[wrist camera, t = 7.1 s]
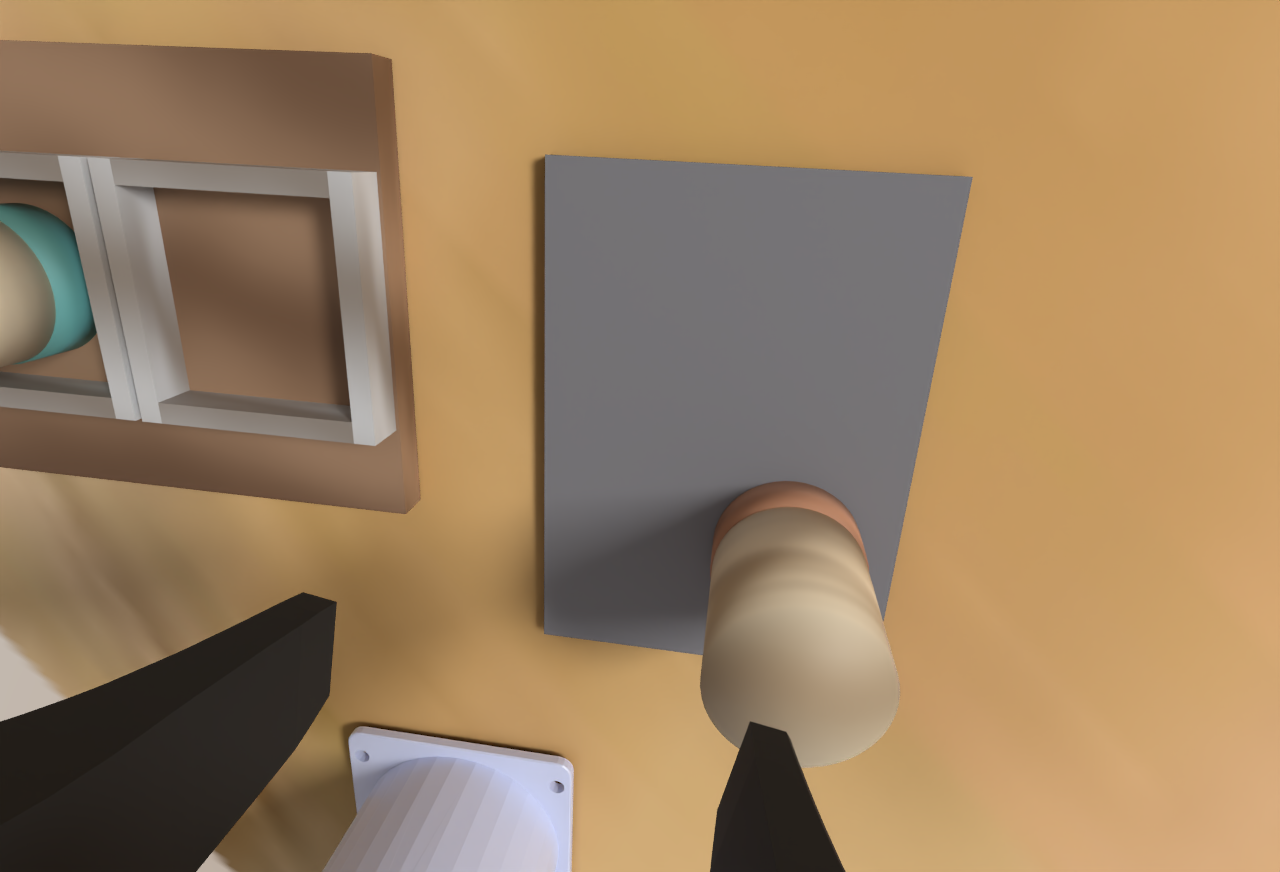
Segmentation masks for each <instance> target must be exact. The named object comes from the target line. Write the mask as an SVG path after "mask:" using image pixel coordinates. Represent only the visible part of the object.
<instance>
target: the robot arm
mask: <svg viewBox="0 0 1280 872" xmlns="http://www.w3.org/2000/svg"><path fill="white" fill-rule="evenodd" d="M336 604H337V602H335V601H331V600H328V599H324V598H321V597H317V596H314V595H310V594H307V593H304V592H303V593H301V594H298V595H296V596H294V597H292V598H290V599H288V600H286V601H283V602H281V603H279V604H277V605H275V606H273V607H271V608H269V609H267V610H265V611H263V612H261V613H259V614H257V615H255V616H253V617H251V618H249V619H247V620H245V621H243V622H241V623H239V624H237V625H235V626H233V627H231V628H229V629H226V630H224V631H222V632H220V633H218V634H216V635H214V636H212V637H210V638H208V639H206V640H203V641H201V642H199V643H197V644H195V645H193V646H191V647H189V648H187V649H185V650H182V651H180V652H178V653H176V654H174V655H171V656H169V657H167V658H164V659H162V660H160V661H157V662H155V663H153V664H150V665H148V666H146V667H144V668H141V669H139V670H137V671H134V672H132V673H130V674H127V675H125V676H123V677H120V678H118V679H116V680H113V681H111V682H109V683H106V684H104V685H101V686H99V687H96V688H94V689H91V690H89V691H86V692H83V693H81V694H78V695H76V696H73V697H70V698H68V699H65V700H62V701H59V702H56V703H54V704H51V705H48V706H45V707H43V708H39V709H37V710H34V711H31V712H28V713H25V714H22V715H20V716H17V717H14V718H10V719H8V720H4V721H1V722H0V872H196V871H197V870H198V869H199V867H200V866H201V865H202V864H203V863H204V861H205V860H206V859H207V858H208V856H209V855H210V854H211V853H212V852H213V850H214V849H215V848H216V847H217V845H218V844H219V843H220V842H221V841H222V839H223V838H224V837H225V836H226V834H227V833H228V832H229V831H230V829H231V828H232V827H233V826H234V825H235V823H236V822H237V821H238V820H239V818H240V817H241V816H242V815H243V814H244V812H245V811H246V810H247V809H248V807H249V806H250V805H251V804H252V803H253V801H254V800H255V799H256V798H257V796H258V795H259V794H260V793H261V792H262V790H263V789H264V788H265V787H266V785H267V784H268V783H269V782H270V780H271V779H272V778H273V777H274V775H275V774H276V773H277V772H278V770H279V769H280V768H281V767H282V765H283V764H284V763H285V762H286V760H287V759H288V758H289V757H290V755H291V754H292V753H293V752H294V750H295V749H296V747H297V746H298V744H299V743H300V741H301V740H302V738H303V737H304V735H305V734H306V732H307V730H308V729H309V727H310V726H311V724H312V723H313V721H314V719H315V718H316V716H317V715H318V713H319V711H320V710H321V708H322V706H323V705H324V703H325V702H326V700H327V698H328V697H329V694H330V681H331V668H332V655H333V642H334V629H335V617H336ZM348 744H349V752H350V760H351V768H352V776H353V785H354V793H355V801H356V809H357V815H356V817H355V818H354V820H353V822H352V823H351V825H350V826H349V828H348V830H347V831H346V833H345V835H344V836H343V838H342V840H341V841H340V843H339V844H338V846H337V848H336V849H335V851H334V853H333V854H332V856H331V858H330V859H329V861H328V862H327V864H326V866H325V867H324V869H323V871H322V872H572V827H573V779H574V769H573V765H572V764H571V763H570V761H568V760H567V759H565V758H563V757H560V756H553V755H547V754H541V753H534V752H528V751H521V750H515V749H508V748H502V747H495V746H489V745H482V744H476V743H469V742H463V741H456V740H450V739H443V738H437V737H430V736H424V735H417V734H411V733H404V732H398V731H391V730H385V729H378V728H372V727H365V726H360V727H357V728H355V730H354V731H353V732H352V734H351V735H350V737H349V740H348ZM364 751H365V752H364ZM555 781H558V782H561V783H562V784H559V783H556V782H555ZM710 872H845V870H844V868H843V866H842V864H841V861H840V859H839V857H838V855H837V853H836V850H835V848H834V846H833V844H832V841H831V839H830V837H829V835H828V833H827V830H826V828H825V826H824V824H823V821H822V819H821V816H820V814H819V812H818V809H817V807H816V805H815V802H814V800H813V797H812V795H811V792H810V790H809V787H808V785H807V782H806V779H805V777H804V774H803V772H802V769H801V766H800V764H799V761H798V758H797V755H796V753H795V750H794V747H793V744H792V742H791V739H790V737H789V735H788V734H787V732H786V731H782V730H779V729H775V728H772V727H769V726H765V725H762V724H758V723H755V722H751V721H750V722H749V725H748V728H747V731H746V733H745V736H744V739H743V742H742V744H741V747H740V750H739V752H738V755H737V758H736V761H735V763H734V766H733V769H732V772H731V774H730V777H729V780H728V782H727V785H726V788H725V791H724V793H723V796H722V799H721V802H720V804H719V807H718V810H717V817H716V825H715V834H714V842H713V851H712V860H711V869H710Z"/></svg>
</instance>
